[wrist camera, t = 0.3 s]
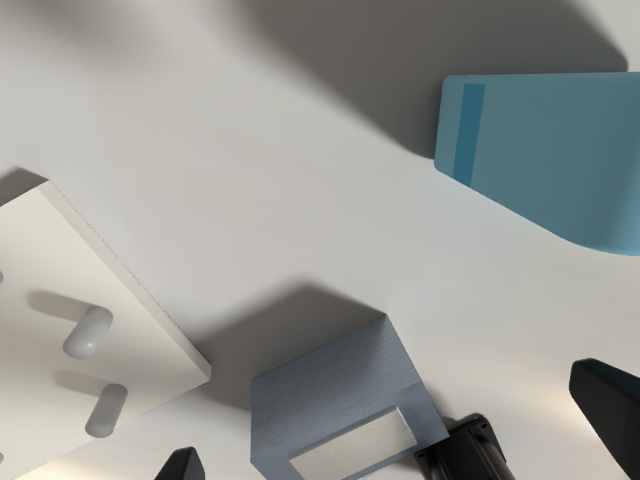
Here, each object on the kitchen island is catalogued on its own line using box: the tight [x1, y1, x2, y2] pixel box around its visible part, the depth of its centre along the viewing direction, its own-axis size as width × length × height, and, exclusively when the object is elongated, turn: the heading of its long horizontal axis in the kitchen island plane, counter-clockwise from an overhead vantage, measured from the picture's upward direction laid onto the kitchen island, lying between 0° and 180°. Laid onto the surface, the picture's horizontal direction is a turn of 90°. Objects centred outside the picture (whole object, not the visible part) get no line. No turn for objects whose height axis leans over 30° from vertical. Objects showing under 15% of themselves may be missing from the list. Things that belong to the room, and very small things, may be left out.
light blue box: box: [434, 72, 640, 256], centre depth 15 cm, size 12×4×12 cm, turn 91°
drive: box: [250, 314, 449, 480], centre depth 23 cm, size 5×10×6 cm, turn 116°
